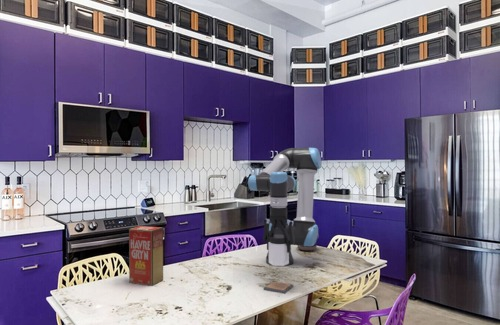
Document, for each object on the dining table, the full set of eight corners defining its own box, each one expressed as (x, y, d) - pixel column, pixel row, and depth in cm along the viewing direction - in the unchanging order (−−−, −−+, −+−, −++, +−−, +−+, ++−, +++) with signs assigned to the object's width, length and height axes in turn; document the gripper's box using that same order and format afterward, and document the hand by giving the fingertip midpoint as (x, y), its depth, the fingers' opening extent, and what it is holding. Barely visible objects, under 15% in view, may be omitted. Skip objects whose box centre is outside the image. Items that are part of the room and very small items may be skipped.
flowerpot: (295, 252, 221) (295, 220, 222) (296, 246, 237) (296, 216, 237) (318, 253, 219) (319, 220, 219) (318, 247, 234) (318, 217, 234)
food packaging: (127, 282, 164) (128, 228, 164) (140, 276, 173) (140, 225, 173) (152, 286, 160) (152, 230, 160) (164, 279, 169) (164, 226, 169)
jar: (291, 265, 155) (291, 237, 155) (275, 267, 152) (275, 239, 152) (282, 259, 163) (282, 233, 163) (266, 261, 160) (266, 235, 160)
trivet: (263, 289, 156) (263, 287, 156) (272, 282, 164) (272, 280, 164) (284, 293, 151) (284, 291, 151) (293, 286, 160) (293, 284, 160)
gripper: (254, 206, 159) (254, 257, 159) (297, 209, 150) (297, 263, 150) (262, 204, 166) (262, 254, 166) (303, 207, 156) (303, 259, 156)
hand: (278, 258), depth 158 cm, fingers closed on jar, 7 cm apart
